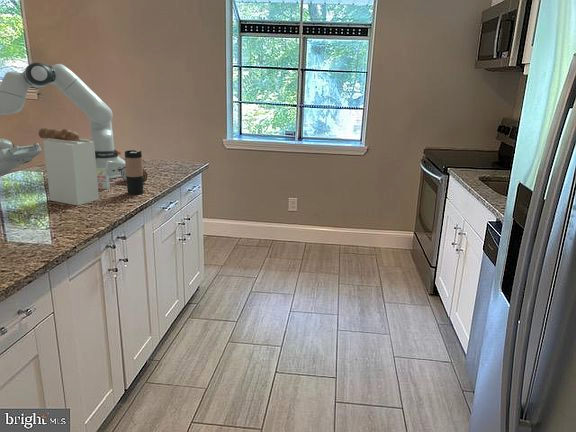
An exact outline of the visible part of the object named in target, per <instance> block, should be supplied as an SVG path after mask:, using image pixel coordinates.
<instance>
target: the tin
mask: <svg viewBox="0 0 576 432" xmlns="http://www.w3.org/2000/svg"><path fill="white" fill-rule="evenodd" d="M121 176H122V177H121V178H122V179H123V181H125V182H127V180H126V167H123V168H122V169H121ZM147 180H148V173H147V171H146V170H145V169H144V168H143V183H146V181H147Z"/></svg>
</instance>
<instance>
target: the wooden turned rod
mask: <svg viewBox="0 0 576 432" xmlns="http://www.w3.org/2000/svg"><path fill="white" fill-rule="evenodd" d="M38 137H39V138H41V139H46V140H47V138H52V139H60V140H68V141H78V140H79V139H80V135H79V133H78V132H76V131H72V130H71V129H69V128H64V129H53V128H45V127H42V128H40V129H39V130H38Z"/></svg>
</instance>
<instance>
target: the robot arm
mask: <svg viewBox="0 0 576 432" xmlns="http://www.w3.org/2000/svg"><path fill="white" fill-rule="evenodd" d="M48 84H51V85H54V86H55V87H57V88H58V90H59V91H61V92H62V93H63V94H64V95H65V96H66V97H67V99H69V100H70V101H71V102H72V103H73V104H74V105H75V106H76V107H77V108H78V109H80V111H81V112H82V113H84V114H85V116H87V117H88V119H89V120H88V121H89V129H90V141H93V142H94V147H95V158H96V168H102V169H107V170H108V174H109V180H111V179H116V178H122V176H121V169H122V168H123V167H126V166H125V159H123V158H122V157H120V156H119V155H121V153H122V152H121V151H120V150H117V149H115V142H114V132H113V131H114V130H113V124H112V120H113V116H114V115H113V111H112V109H111V107H109V105H107V103H105V102H104V101H103V100H102V98H101V97H100V96H98V95H97V94H96V93H95V92H94V91H93V90H92V89H91V87H90V86H88V85H87V84H86V83H85V82H84V81H83V80H82V79H81V78H80V77H79V76H78V75H76V73H75V72H73V71H72V70H71V69H70V68H68V67H67V66H65V65H64V64H62V63H56V64H53V65H52V66H50V65H47V64H44V63H41V62H32V63H30V64H29V65H27V66H26V67H25V69H24V70H23V71H22V72H17V71H7V72H6V73H5V74H4V76H3V78H2V80H1V82H0V116H3V115H13V114H17V113H19V112H21V111H22V110H23V108H24V106H25V103H26V99H27V93H28V91H29V89H34V90H35V89H43V88H44V87H46V86H47V85H48ZM42 151H43V150H42V148H41V145H40V144H39V142H35V143H33V144H32V145H25V146H23V145H22V146H21V145H14V143H13V142H12V141H11V140H10V139H7V138H1V137H0V178H1V177H4V176H6V175H8V174H9V173H11V172H12V170H15V169H16V168H18V167H20V166H22V165H24V164H27V163H30V162H32V161H33V159H34V158H36V157H37V156H38V155H40V154H41V153H42Z"/></svg>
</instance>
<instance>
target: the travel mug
mask: <svg viewBox="0 0 576 432" xmlns="http://www.w3.org/2000/svg"><path fill="white" fill-rule="evenodd" d="M124 160H125V166H126V180H127V181H126V188H127V194H128V195H131V196H133V195H134V196H135V195H142V194H144V182H143V169H144V168H143V155H142V150H139V151H137V150H135V149H133V150H131V149H129V150H125V151H124Z"/></svg>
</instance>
